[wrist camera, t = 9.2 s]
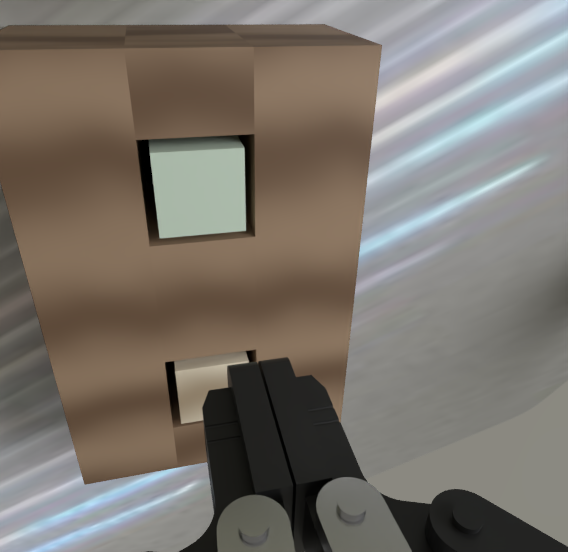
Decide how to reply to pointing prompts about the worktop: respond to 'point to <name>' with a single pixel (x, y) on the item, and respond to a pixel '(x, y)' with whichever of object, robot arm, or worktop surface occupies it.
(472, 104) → the worktop surface
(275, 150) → the walnut block
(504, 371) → the worktop surface
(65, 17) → the worktop surface
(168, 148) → the sage peg
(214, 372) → the birch peg
